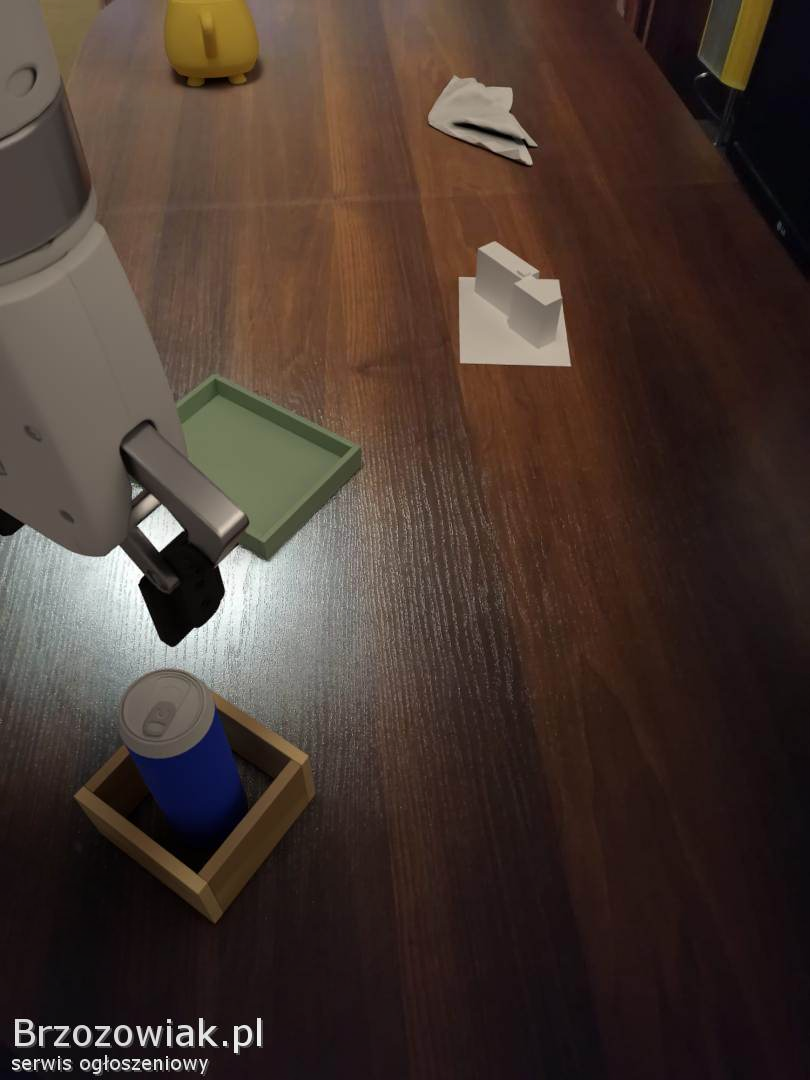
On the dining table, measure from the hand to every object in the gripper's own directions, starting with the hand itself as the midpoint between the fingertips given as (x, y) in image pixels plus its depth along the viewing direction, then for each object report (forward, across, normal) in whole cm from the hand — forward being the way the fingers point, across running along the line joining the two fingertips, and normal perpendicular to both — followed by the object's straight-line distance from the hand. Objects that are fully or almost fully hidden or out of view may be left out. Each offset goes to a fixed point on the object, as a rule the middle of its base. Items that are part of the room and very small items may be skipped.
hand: (108, 564), depth 36 cm
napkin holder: (+28, -10, +58) cm, 65 cm away
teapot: (+27, -76, +85) cm, 117 cm away
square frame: (+27, 0, 0) cm, 27 cm away
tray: (+27, -19, +25) cm, 42 cm away
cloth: (+28, -36, +94) cm, 104 cm away
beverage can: (+28, 0, 0) cm, 28 cm away
